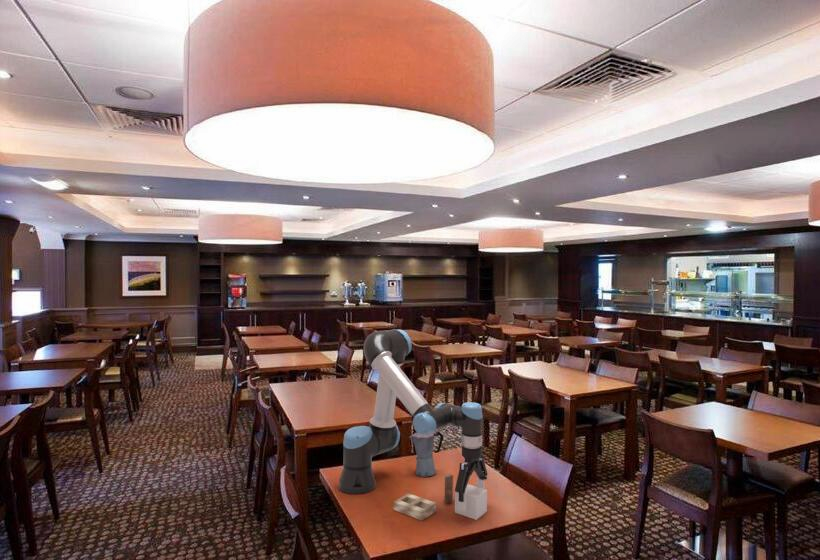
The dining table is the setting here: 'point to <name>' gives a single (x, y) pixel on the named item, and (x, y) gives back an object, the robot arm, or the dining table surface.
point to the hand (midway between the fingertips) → (471, 503)
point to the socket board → (415, 506)
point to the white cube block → (473, 502)
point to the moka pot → (425, 452)
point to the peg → (448, 488)
